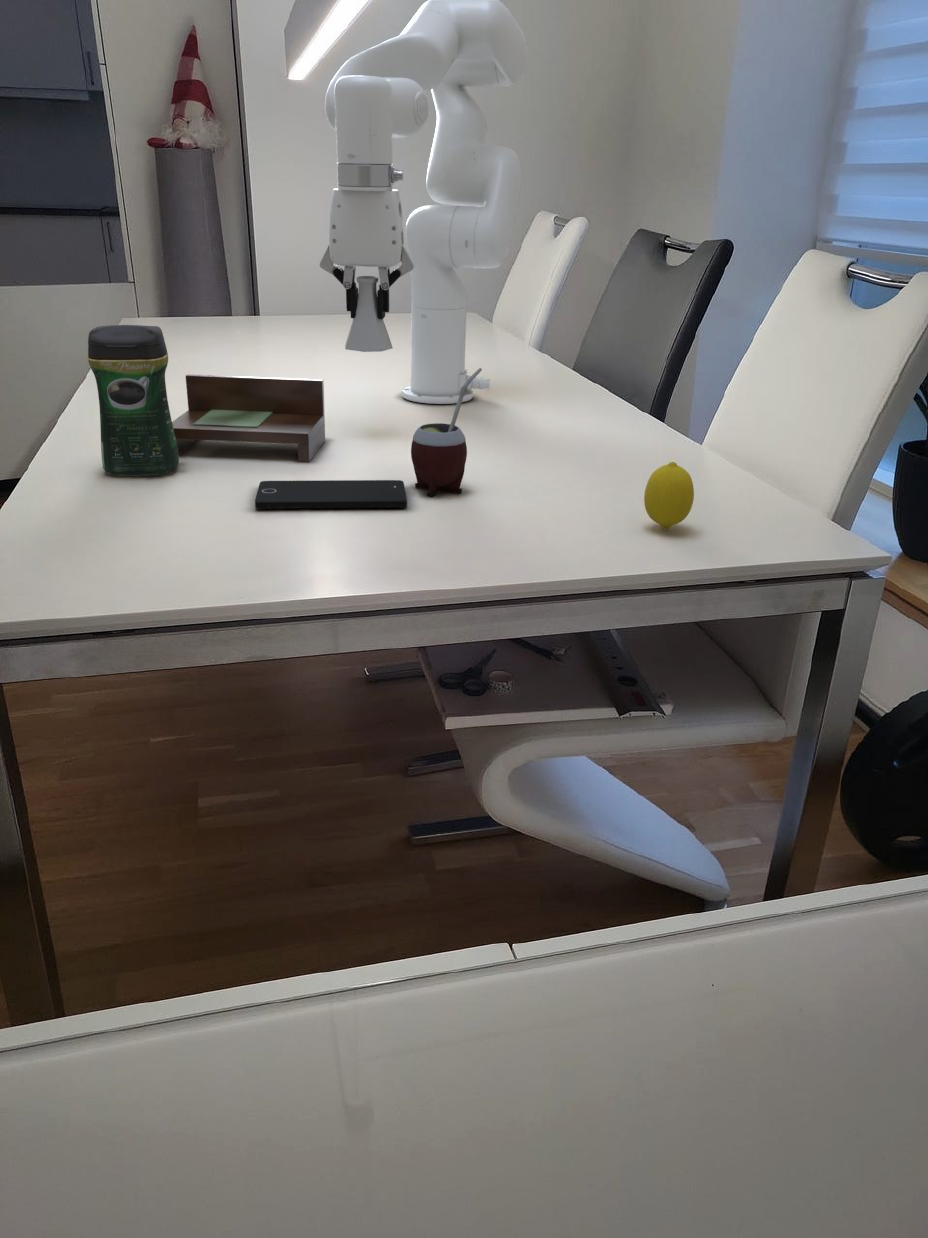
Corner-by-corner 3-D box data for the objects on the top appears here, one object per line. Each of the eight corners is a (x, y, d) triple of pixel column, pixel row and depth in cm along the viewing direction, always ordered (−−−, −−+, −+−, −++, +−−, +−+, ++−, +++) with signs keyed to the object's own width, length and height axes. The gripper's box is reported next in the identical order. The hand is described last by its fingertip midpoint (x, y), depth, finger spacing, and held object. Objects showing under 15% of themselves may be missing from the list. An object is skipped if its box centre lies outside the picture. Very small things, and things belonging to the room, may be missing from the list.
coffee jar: (183, 461, 137) (169, 320, 130) (175, 477, 130) (160, 330, 122) (109, 462, 136) (92, 320, 128) (97, 478, 129) (78, 329, 121)
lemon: (635, 521, 119) (642, 455, 116) (681, 521, 119) (689, 455, 116) (647, 537, 114) (655, 468, 111) (695, 537, 114) (704, 468, 111)
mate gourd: (402, 493, 126) (402, 373, 120) (425, 477, 133) (427, 362, 127) (457, 501, 124) (460, 378, 118) (478, 484, 131) (482, 367, 125)
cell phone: (260, 487, 127) (260, 480, 126) (403, 486, 129) (403, 479, 128) (254, 509, 119) (254, 502, 118) (407, 508, 121) (407, 500, 120)
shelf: (325, 440, 149) (323, 379, 146) (309, 462, 139) (306, 396, 135) (192, 435, 150) (187, 374, 147) (166, 456, 139) (160, 391, 136)
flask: (386, 354, 143) (385, 281, 139) (337, 351, 145) (334, 279, 140) (399, 345, 150) (398, 275, 145) (352, 342, 151) (350, 272, 147)
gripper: (427, 178, 140) (427, 314, 148) (310, 176, 141) (316, 311, 149) (422, 180, 134) (422, 323, 142) (299, 178, 134) (306, 319, 142)
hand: (368, 315), depth 145 cm, fingers closed on flask, 3 cm apart
